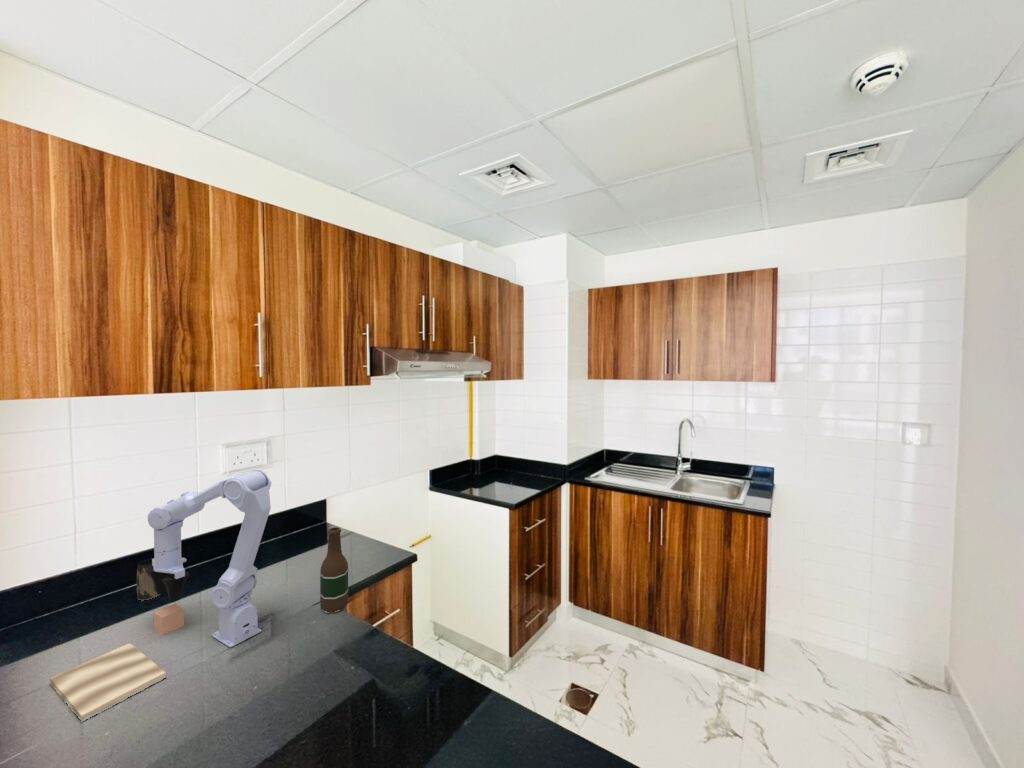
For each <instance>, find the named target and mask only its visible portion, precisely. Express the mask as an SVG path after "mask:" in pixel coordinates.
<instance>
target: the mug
mask: <svg viewBox="0 0 1024 768" xmlns="http://www.w3.org/2000/svg"><path fill="white" fill-rule="evenodd" d="M152 559H154V558H153V557H151V558H148V559H144V560H141V561H140V562H138V563H137V569H136V594H137V601H138V600H141V601H140V602H145V601H144V600H148V601H150V600H149V599H151V600H153V599H152V598H154V599H156V598H158V597H159V596H160V595H161V594H159V595H158V594H157V592H156V589H155V586H154V583H153V580H152V578H151V577H150V575H149V574H148V573H147V571H148V570H150V569H153V568H154V566H152ZM157 596H158V597H157ZM155 597H156V598H155Z"/></svg>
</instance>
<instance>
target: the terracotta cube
mask: <svg viewBox="0 0 1024 768" xmlns="http://www.w3.org/2000/svg"><path fill="white" fill-rule="evenodd" d="M182 627H185V608H184V607H182V606H180V605H179V604H177V603H175V602H174V603H173V604H170V605H169V606H165V607H163V608H160V609H157V610H155V611H153V630H154V631H155V632H156V633H158V634H159V635H160V636H164V635H167V634H169V633H172V632H174V631H176V630H178V629H180V628H182Z"/></svg>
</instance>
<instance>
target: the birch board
mask: <svg viewBox="0 0 1024 768" xmlns="http://www.w3.org/2000/svg"><path fill="white" fill-rule="evenodd" d="M166 675H167V672H166V671H165V670H164V669H162V668H161V667H160V666H159V665H157V664H156V663H155V662H154V661H153V660H151V659H150V658H149V657H148V656H147V655H145V654H144V653H143V652H142V651H140V650H139V649H138V648H137V647H136V646H135V645H133V644H132V643H131V642H130V643H126V644H124V645H121V646H119V647H118V648H115V649H113V650H110V651H108V652H107V653H106V652H105V653H104V654H102V655H99V656H97V657H95V658H92V659H90V660H87V661H86V662H83V663H81V664H78V665H76V666H74V667H72V668H70V669H67V670H65V671H63V672H61V673H57V674H56V675H53V676H52V677H49V685H50V686H51V688H52V689H53V690H54V689H55V690H56V691H55V690H54V691H55V692H56V693H57V695H58V694H59V695H60V696H61V697H62V698H61V697H60V696H59V695H58V696H59V697H60V698H61V700H62V701H63V700H64V701H65V702H66V703H67V704H68V705H69V707H70V708H71V709H72V710H73V711H74V712H75V713H76V714H77V715H78V716H79V717H80V718H81V720H82V719H84V718H86V717H87V716H89V715H92V714H94V713H96V712H99V711H101V710H103V709H105V708H107V707H109V706H111V705H113V704H116V703H117V702H119V701H121V700H123V699H125V698H127V697H130V696H132V695H134V694H136V693H138V692H140V691H142V690H143V691H145V690H146V689H145V688H147V687H148V686H150V685H152V684H154V683H156V682H158V681H160V680H161V679H163V678H165V677H166ZM166 678H167V677H166ZM144 689H145V690H144ZM147 689H148V688H147ZM143 691H142V692H143ZM140 693H141V692H140ZM138 694H139V693H138ZM136 695H137V694H136ZM134 696H135V695H134ZM132 697H133V696H132ZM130 698H131V697H130ZM64 701H63V702H64ZM65 702H64V703H65ZM66 703H65V704H66ZM67 704H66V705H67ZM69 707H68V708H69ZM70 708H69V709H70ZM71 709H70V710H71ZM72 710H71V711H72Z"/></svg>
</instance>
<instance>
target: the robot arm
mask: <svg viewBox="0 0 1024 768" xmlns="http://www.w3.org/2000/svg"><path fill="white" fill-rule="evenodd" d="M272 483H273V482H272V481H271V478H269V476H268V474H266V472H265V471H263V470H261V469H254V470H252V471H250V472H246V473H241V474H238V475H235V476H233V477H229V478H227V479H226V478H225V479H223V480H220V481H218V482H217V483H215V484H213V485H211V486H209V487H207V488H205V489H204V490H202V491H200V492H198V491H186V492H183V493H180V497H178V498H176V499H170V500H168V501H167V502H166V504H165V505H162V506H159V507H154V508H153V509H152V510H150V511H149V513H148V514H147V522H148V525H149V526H150V527H151V528H152V529H153V553H154V555H153V556H154V559H152V566H154V568H153V569H150V570H148V571H147V573H148V574H149V575H150V577H151V578H152V580H153V583H154V586H155V589H156V592H157V594H158V595H159V594H160V595H161V594H163V593H167V597H168V600H169V602H170V604H172V603H175V602H178V601H179V600H181V597H182V594H183V590H184V586H185V584H186V583H187V580H188V579H189V577H190V573H189V572H188V571H186V569H185V568H184V565H183V564H184V563H186V562H187V558H185V557H182V527H184V520H185V519H187V518H189V517H191V516H193V515H196V514H197V513H199V512H201V511H203V509H204V508H205V504H206V503H208V502H211V501H213V500H216V499H217V498H220V497H221V499H227V500H228V501H229V502H230V503H231V504H232V505H233V506H234V507H235V508H236V509H238V510H239V511H240V512H242V513H244V517H243V519H242V522H241V526H240V530H239V533H238V536H237V538H236V539H237V540H236V543H235V546H234V549H233V552H232V555H231V559H230V562H229V565H228V567H227V569H226V570H225V572H224V573H223V574H222V575H221V576H220V578H219V579H218V582H217V584H216V586H215V587H213V589H212V591H211V594H210V599H211V603H212V604H213V605H214V606H215V607H216V609H218V630H216V631H215V632H213V633H211V637H213V638H214V639H216V640H217V641H219V642H221V643H222V644H224V645H225V646H227V647H228V648H233V647H234V646H236V645H238V644H240V643H242V642H244V641H245V640H247V639H250V638H252V637H254V636H255V635H257V634H259V633H261V632H262V629H261V628H259V627H258V622H259V621H258V610H257V608H256V607H255V606H254V605H253V604H252V598H251V597H252V595H253V590H254V589H255V588H256V586H257V583H258V578H257V573H258V568H257V567H256V566H255V565H254V563H255V560H256V556H257V553H258V551H259V548H260V544H261V541H262V537H263V534H264V531H265V527H266V524H267V521H268V518H269V515H270V512H271V507H272V506H271V498H270V497H271V496H270V489H271V486H272ZM160 595H159V596H160Z"/></svg>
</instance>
